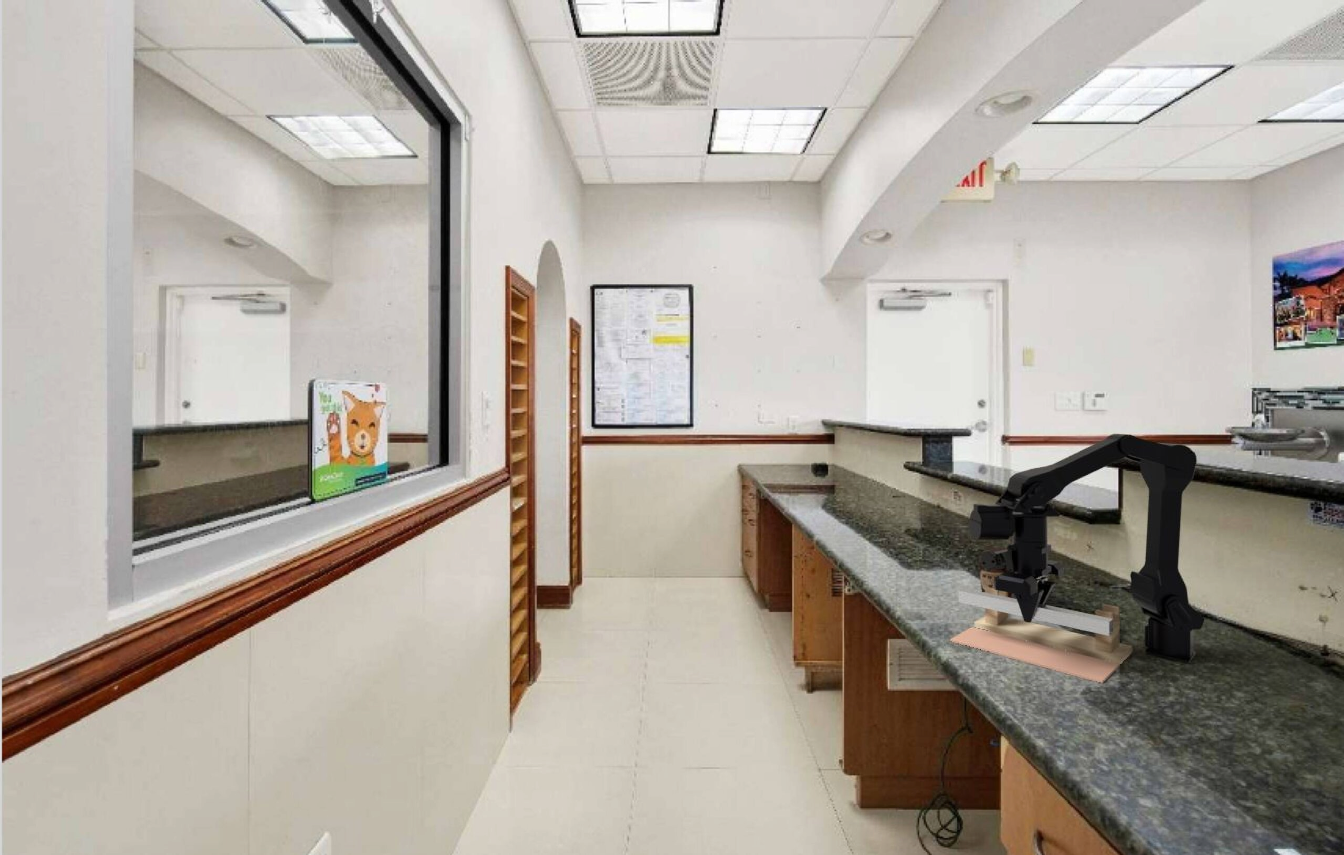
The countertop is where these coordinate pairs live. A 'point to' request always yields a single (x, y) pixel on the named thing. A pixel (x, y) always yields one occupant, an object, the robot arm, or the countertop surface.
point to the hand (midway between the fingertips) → (1030, 620)
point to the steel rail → (1039, 612)
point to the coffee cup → (989, 577)
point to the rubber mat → (1037, 654)
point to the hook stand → (1059, 633)
